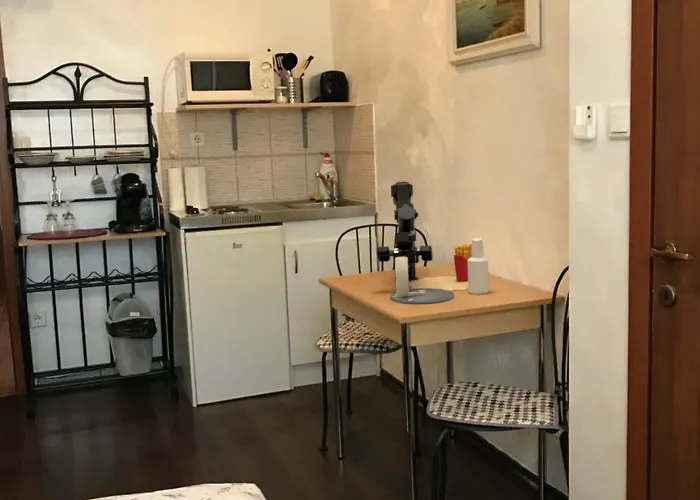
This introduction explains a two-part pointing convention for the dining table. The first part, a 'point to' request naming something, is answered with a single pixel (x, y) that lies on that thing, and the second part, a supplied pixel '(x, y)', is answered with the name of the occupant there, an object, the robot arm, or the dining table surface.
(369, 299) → the dining table surface
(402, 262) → the tall cream cylinder
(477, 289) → the spray bottle
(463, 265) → the french fries
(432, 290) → the grey round platter
